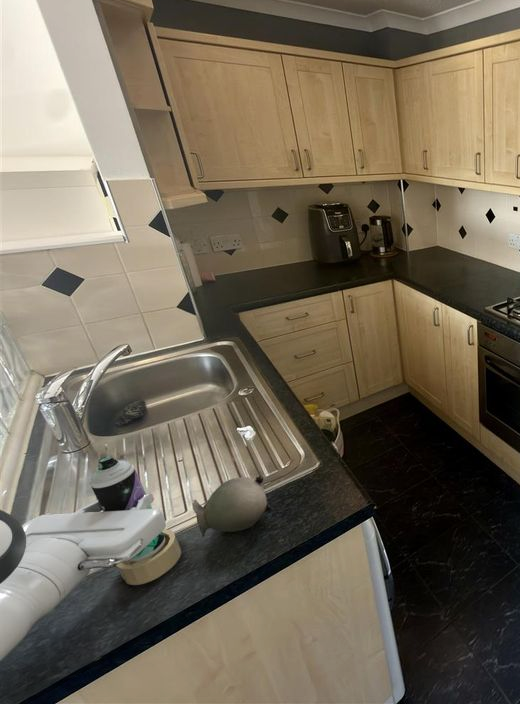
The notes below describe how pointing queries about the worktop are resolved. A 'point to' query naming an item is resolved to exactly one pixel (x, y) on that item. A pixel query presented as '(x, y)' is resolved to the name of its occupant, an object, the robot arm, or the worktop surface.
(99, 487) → the spray can
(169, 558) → the beige base ring
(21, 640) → the robot arm
